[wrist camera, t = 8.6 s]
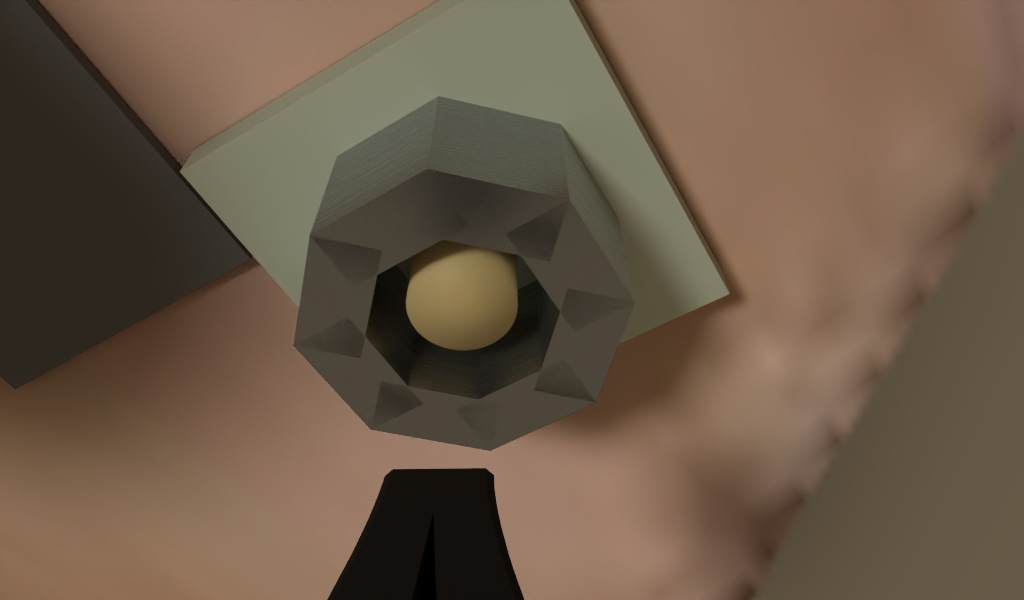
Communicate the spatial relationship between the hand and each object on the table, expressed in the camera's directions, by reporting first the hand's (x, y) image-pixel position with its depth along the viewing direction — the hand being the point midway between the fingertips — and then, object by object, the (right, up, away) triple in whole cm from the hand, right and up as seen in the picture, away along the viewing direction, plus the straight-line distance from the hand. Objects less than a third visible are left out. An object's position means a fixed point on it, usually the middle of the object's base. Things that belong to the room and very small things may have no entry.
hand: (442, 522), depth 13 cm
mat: (-9, +5, +7) cm, 13 cm away
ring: (0, +4, +6) cm, 8 cm away
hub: (0, +5, +7) cm, 9 cm away
